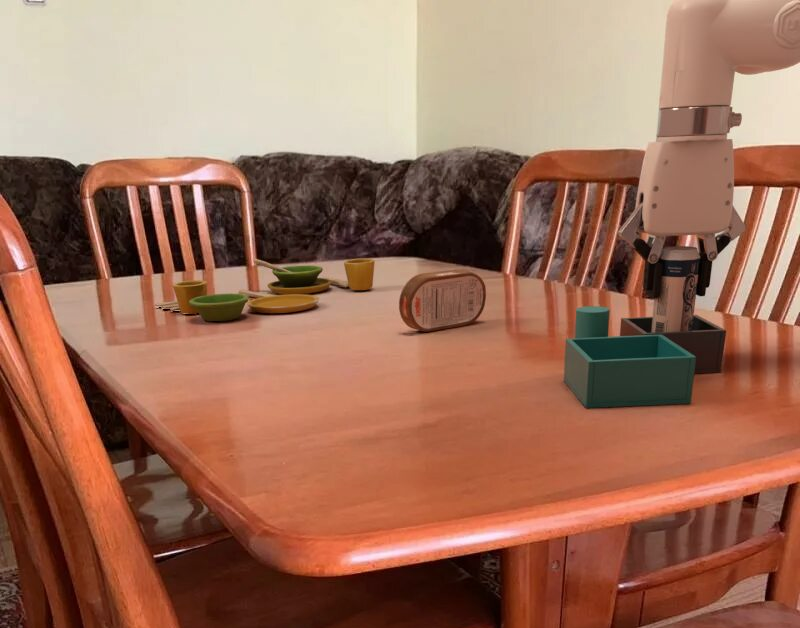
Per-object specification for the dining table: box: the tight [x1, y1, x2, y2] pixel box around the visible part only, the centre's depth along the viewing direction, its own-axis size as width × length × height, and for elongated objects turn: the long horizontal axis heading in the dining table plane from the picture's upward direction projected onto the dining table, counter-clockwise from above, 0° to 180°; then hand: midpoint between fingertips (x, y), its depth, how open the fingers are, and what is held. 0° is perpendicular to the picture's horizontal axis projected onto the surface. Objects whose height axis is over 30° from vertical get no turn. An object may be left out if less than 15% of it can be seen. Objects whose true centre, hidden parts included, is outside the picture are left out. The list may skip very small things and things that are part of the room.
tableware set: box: [154, 258, 376, 322], centre depth 154 cm, size 41×28×6 cm
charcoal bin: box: [619, 314, 727, 375], centre depth 102 cm, size 10×10×5 cm
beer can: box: [651, 245, 700, 333], centre depth 99 cm, size 5×5×12 cm
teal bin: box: [563, 334, 696, 409], centre depth 92 cm, size 11×11×5 cm
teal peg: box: [574, 305, 611, 338], centre depth 102 cm, size 4×4×7 cm
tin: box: [398, 268, 487, 333], centre depth 126 cm, size 15×3×8 cm, turn 123°
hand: (675, 293), depth 99 cm, fingers closed on beer can, 4 cm apart
